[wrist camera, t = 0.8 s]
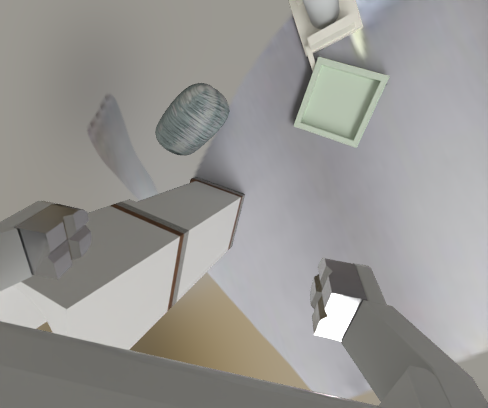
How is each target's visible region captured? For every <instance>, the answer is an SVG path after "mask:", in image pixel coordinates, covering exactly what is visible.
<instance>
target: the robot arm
mask: <svg viewBox="0 0 488 408" xmlns="http://www.w3.org/2000/svg"><path fill="white" fill-rule="evenodd" d="M88 222H89V218H88V213H87V212H86V211H85V210H83V209H78V208H74V207H70V206H65V205H61V204H55V203H51V202H46V201H37V202H35V203H33V204H32V205H30V206H28V207H26V208H25V209H23V210H21V211H19V212H17V213H16V214H14V215H12V216H10V217H8V218H7V219H5V220H3V221H1V222H0V291H2V290H4V289H7V288H9V287H11V286H13V285H15V284H17V283H19V282H21V281H23V280H25V279H27V278H30V277H32V275H35V276H41V277H46V278H52V279H57V280H58V279H59V278H60V277H61V276H62V275H63V274H64V273H65V272H66V271H67V270H68V269H70V268H71V267H72V263H73V260H75V259H78V258H80V257H82V256H83V255H84V254H85V253H86V252H87V250H88V248H89V246H90V244H91V239H92V236H91V231H90V230H89V228H88V227H87V226H86V224H87V223H88ZM318 271H319V274H318V275H317V276H315V277H314V279H313V282H312V286H311V291H310V302H311V306H312V307H313V308H314V313H313V315H312V321H313V329H314V335H318V336H322V337H326V338H330V339H334V340H338V341H342V342H341V343H342V345H343V346H344V348H345V349H346V351H347V352H348V353H349V355H350V356H351V358H352V359H353V361H354V362H355V364H356V365H357V367H358V368H359V370H360V371H361V373H362V374H363V376H364V377H365V379H366V380H367V382H368V383H369V385H370V386H371V388H372V389H373V391H374V392H375V394H376V395H377V397H378V398H379V400H380V401H381V403H380V405H379V406H376V405H371V404H367V403H362V402H358V401H354V400H349V399H345V398H340V397H336V396H331V395H327V394H323V393H318V392H314V391H309V390H305V389H300V388H296V387H291V386H287V385H283V384H278V383H273V382H269V381H265V380H259V379H255V378H251V377H246V376H242V375H238V374H233V373H229V372H224V371H220V370H215V369H211V368H206V367H202V366H197V365H193V364H189V363H184V362H179V361H175V360H171V359H166V358H162V357H157V356H153V355H148V354H144V353H140V352H135V351H131V350H126V349H122V348H117V347H113V346H109V345H104V344H100V343H95V342H91V341H86V340H82V339H78V338H73V337H69V336H64V335H60V334H55V333H51V332H46V331H42V330H38V329H33V328H29V327H24V326H20V325H15V324H11V323H6V322H2V321H0V408H488V403H487V401H486V399H485V398H484V396H483V394H482V393H481V391H480V389H479V388H478V386H477V384H476V383H475V381H474V379H473V378H472V377H471V376H470V375H469V374H468V373H467V372H465V371H464V370H463V369H462V368H461V367H460V366H459V365H458V364H457V363H455V362H454V361H453V360H452V359H451V358H450V357H449V356H448V355H446V354H445V353H444V352H443V351H442V350H441V349H440V348H439V347H437V346H436V345H435V344H434V343H433V342H432V341H431V340H430V339H428V338H427V337H426V336H425V335H424V334H423V333H422V332H421V331H419V330H418V329H417V328H416V327H415V326H414V325H413V324H412V323H410V322H409V321H408V320H407V319H406V318H405V317H404V316H403V315H401V314H400V313H399V312H398V311H397V310H396V309H395V308H394V307H392V306H389V305H387V304H386V302H385V299H384V297H383V295H382V292H381V290H380V288H379V285H378V283H377V281H376V278H375V276H374V274H373V271H372V269H371V268H370V267H369V266H366V265H360V264H354V263H353V264H351V263H346V262H341V261H336V260H331V259H326V258H322V259H321V261H320V263H319V265H318Z"/></svg>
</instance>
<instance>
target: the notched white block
mask: <svg viewBox="0 0 488 408" xmlns="http://www.w3.org/2000/svg"><path fill="white" fill-rule="evenodd" d="M244 197H245V195H244V194H242V193H239V192H236V191H233V190H230V189H228V188H225V187H222V186H219V185H217V184H214V183H211V182H208V181H205V180H203V179H200V178H197V177H195V178H192V179H191V180H190V183H189V184H186V185H183V186H180V187H177V188H174V189H172V190H169V191H166V192H163V193H160V194H157V195H155V196H152V197H149V198H146V199H143V200H140V201H138V202H135V201H132V200H130V199H129V200H126V201H123V202H120V203H116V204H114V205H111V206H107V207H104V208H101V209H98V210H95V211H93V212H89V213H88V218H89V222H88V223H87V224H86V226H87V227H88V228H89V230H90V231H91V236H92V239H91V244H90V246H89V248H88V250H87V252H86V253H85V254H84V255H83V256H82V257H80V258H78V259H75V260H73V263H72V267H71V268H70V269H68V270H67V271H66V272H65V273H64V274H63V275H62V276H61V277H60V278H59V279H58V280H57V279H52V278H46V277H41V276H35V275H32V277H30V278H27V279H25V280H23V281H21V282H19V283H17V284H15V285H13V286H11V287H9V288H7V289H4V290H2V291H0V321H2V322H6V323H11V324H15V325H20V326H24V327H29V328H33V329H36V328H37V327H39V326H40V325H42V324H44V323H45V322H48V324H49V325H50V327H51V330H52V332H53V333H55V334H60V335H64V336H69V337H73V338H78V339H82V340H86V341H91V342H95V343H100V344H104V345H109V346H113V347H117V348H122V349H126V350H129V349H130V348H131V347H132V346H133V345H134V344H135V343H136V342H137V341H138V340H139V339H140V338H141V337H142V336H143V335H144V334H145V333H146V332H147V331H148V330H149V329H150V328H151V327H152V326H153V325H154V324H155V323H156V322H157V321H158V320H159V319H160V318H161V317H162V316H163V315H164V314H165V313H166V312H167V311H168V310H169V309H170V308H171V307H172V306H173V305H174V304H175V303H176V302H177V301H178V300H179V299H180V298H181V297H182V296H183V295H184V294H185V293H186V292H187V291H188V290H189V289H190V288H191V287H192V286H193V285H194V284H195V283H196V282H197V281H198V280H199V279H200V278H201V277H202V276H203V275H204V274H205V273H206V272H207V271H208V270H209V269H210V268H211V267H212V266H213V265H214V264H215V263H216V262H217V261H218V260H219V259H220V258H221V257H222V256H223V255H224V254H225V253H226V252H227V251H228V250H229V249H230V248H231V247H232V244H233V240H234V236H235V232H236V228H237V224H238V220H239V216H240V212H241V208H242V204H243V201H244Z"/></svg>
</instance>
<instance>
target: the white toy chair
mask: <svg viewBox="0 0 488 408" xmlns="http://www.w3.org/2000/svg"><path fill="white" fill-rule="evenodd" d="M289 4H290V7H291V10H292V13H293V17H294V20H295V23H296V26H297V29H298V32H299V35H300V38H301V42H302V45H303V48H304V51H305V54H306V56H307V57H308V58H309V61H310V65H311V68H312V71H313V70H314V68H315V65H316V63H315V60H314V56H313V54H314V53H316V52H317V51H319V50H321V49H323V48H325V47H327V46H329V45H331V44H333V43H335V42H337V41H339V40H341V39H343V38H345V37H346V36H348V35H350V34H352V33H354V32H356V31H358V30H360V29H362V28H363V25H362V21H361V18H360V14H359V11H358V7H357V4H356V0H339V7H340V11H339V16H338V18H337V20H336V21H335V23H333V24H331V25H329V26H327V27H326V28H324V29H317V28H315V27H314V26H313V25H312V23H311V21H310V18H309V16H308V13H307V11H306V8H305V6H304V3H303V0H289ZM318 76H319V74H318Z"/></svg>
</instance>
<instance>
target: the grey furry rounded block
mask: <svg viewBox="0 0 488 408" xmlns="http://www.w3.org/2000/svg"><path fill="white" fill-rule="evenodd" d="M229 112H230V111H229V106H228V103H227V100H226V99H225V97H224V96H223V95H222V94H221V93H220V92H219V91H218V90H216V89H214V88H213V87H212V86H210V85H208V84H204V83H198V84H194V85H191V86H189V87H188V88H186V89H185V90H184V91H183V92H181V93H180V94H179V95H178V96H177V97H176V99H175V100H174V101H173V102H172V103H171V105H170V106H169V107H168V109H167V110H166V111H165V113H164V114H163V116H162V118H161V119H160V121H159V123H158V125H157V127H156V138H157V140H158V142H159V143H160V144H161V145H162V146H163V147H164V148H165V149H166V150H168V151H170V152H172V153H174V154H177V155H189V154H192V153H194V152H195V151H196V150H198V149H199V148H200V147H201V146H202V145H204V144H205V143H206V142H207V141H208V140H209V139H210V138H211V137H212V136H213V135H214V134H215V133H216V132H217V131H218V130H219V129H220V128H221V127H222V126H223V124H224V123H225V121H226V119H227V117H228V114H229Z"/></svg>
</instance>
